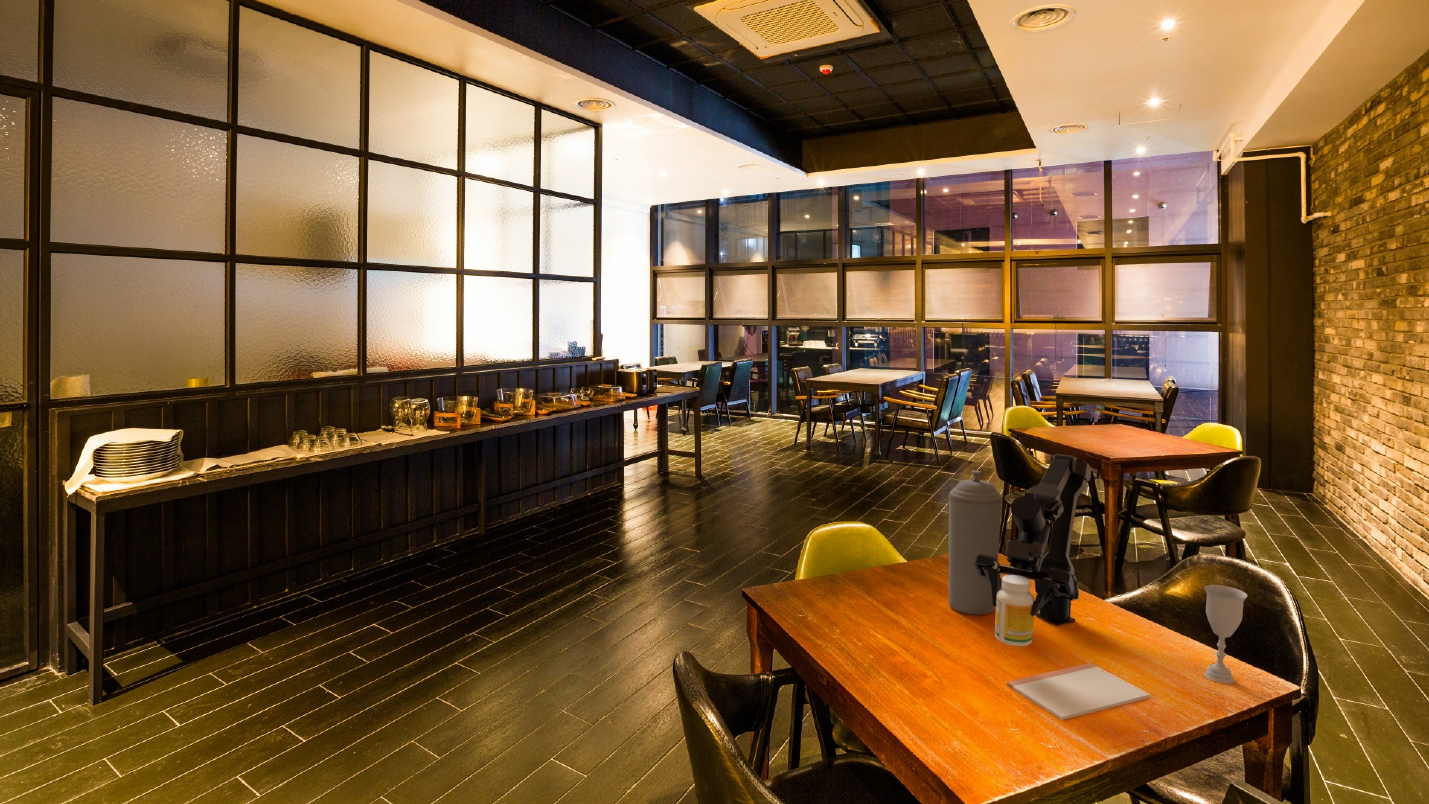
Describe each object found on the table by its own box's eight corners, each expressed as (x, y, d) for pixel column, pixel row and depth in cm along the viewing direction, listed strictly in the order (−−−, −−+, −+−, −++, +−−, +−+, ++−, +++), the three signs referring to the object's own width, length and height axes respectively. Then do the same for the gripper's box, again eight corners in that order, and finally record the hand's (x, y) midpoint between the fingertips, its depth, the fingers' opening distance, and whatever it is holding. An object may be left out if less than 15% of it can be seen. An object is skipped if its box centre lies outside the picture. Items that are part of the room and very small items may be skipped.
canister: (946, 615, 177) (951, 475, 173) (943, 596, 189) (947, 464, 185) (1002, 619, 174) (1007, 477, 170) (994, 600, 186) (999, 467, 182)
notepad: (1090, 665, 151) (1090, 662, 150) (1149, 697, 138) (1150, 694, 138) (1006, 684, 143) (1006, 681, 143) (1061, 720, 130) (1061, 716, 130)
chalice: (1189, 669, 149) (1195, 585, 147) (1220, 667, 149) (1227, 584, 147) (1217, 687, 142) (1223, 599, 140) (1249, 685, 142) (1256, 597, 140)
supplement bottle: (987, 636, 150) (989, 576, 148) (1011, 629, 153) (1013, 570, 151) (1015, 650, 143) (1018, 588, 142) (1040, 642, 147) (1043, 581, 145)
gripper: (978, 517, 154) (957, 581, 147) (1073, 532, 143) (1056, 603, 135) (989, 543, 161) (970, 606, 154) (1080, 560, 150) (1064, 629, 142)
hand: (1012, 610), depth 146 cm, fingers closed on supplement bottle, 7 cm apart
